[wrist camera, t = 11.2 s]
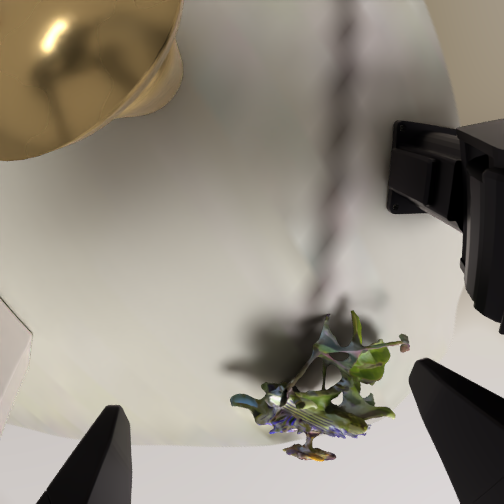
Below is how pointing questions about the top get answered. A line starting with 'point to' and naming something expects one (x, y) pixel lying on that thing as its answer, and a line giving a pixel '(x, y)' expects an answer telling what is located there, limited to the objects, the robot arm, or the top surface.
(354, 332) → the passion flower
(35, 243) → the top surface
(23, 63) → the brass goblet
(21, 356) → the jar
